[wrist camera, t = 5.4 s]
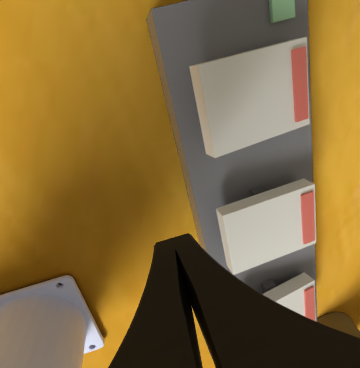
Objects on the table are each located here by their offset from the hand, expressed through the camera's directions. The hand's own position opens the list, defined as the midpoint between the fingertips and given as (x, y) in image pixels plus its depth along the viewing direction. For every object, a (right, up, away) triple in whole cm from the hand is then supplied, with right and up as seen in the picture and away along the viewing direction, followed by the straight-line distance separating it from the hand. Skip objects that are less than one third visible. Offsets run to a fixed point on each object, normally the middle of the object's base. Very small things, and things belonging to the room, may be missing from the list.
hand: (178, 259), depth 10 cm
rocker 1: (+4, +7, +4) cm, 9 cm away
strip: (+5, +2, +11) cm, 12 cm away
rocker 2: (+6, 0, +7) cm, 9 cm away
